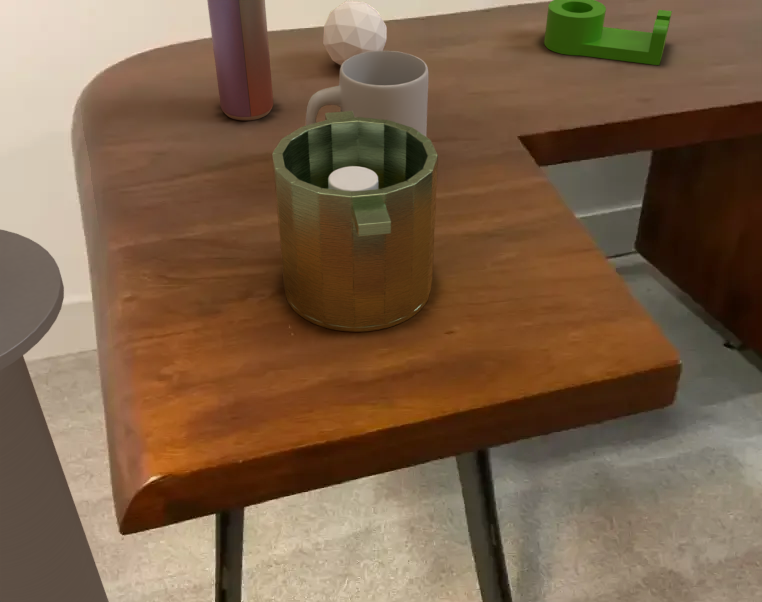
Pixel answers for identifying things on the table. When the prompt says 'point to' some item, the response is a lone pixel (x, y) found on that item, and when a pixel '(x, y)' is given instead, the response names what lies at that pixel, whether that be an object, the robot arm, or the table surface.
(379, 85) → the mug
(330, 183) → the supplement bottle
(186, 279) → the table surface
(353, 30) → the geometric ball
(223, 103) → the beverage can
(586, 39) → the tape dispenser
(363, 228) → the pot
